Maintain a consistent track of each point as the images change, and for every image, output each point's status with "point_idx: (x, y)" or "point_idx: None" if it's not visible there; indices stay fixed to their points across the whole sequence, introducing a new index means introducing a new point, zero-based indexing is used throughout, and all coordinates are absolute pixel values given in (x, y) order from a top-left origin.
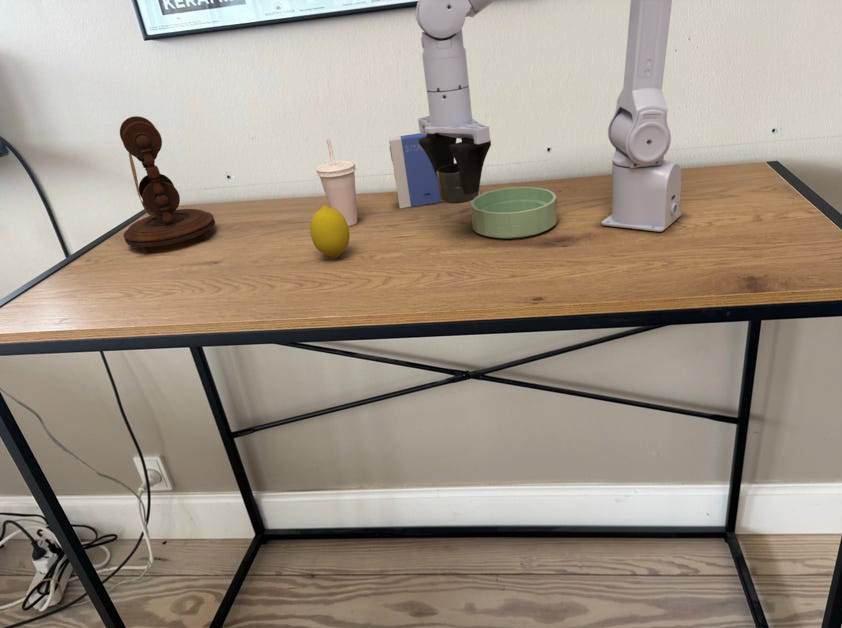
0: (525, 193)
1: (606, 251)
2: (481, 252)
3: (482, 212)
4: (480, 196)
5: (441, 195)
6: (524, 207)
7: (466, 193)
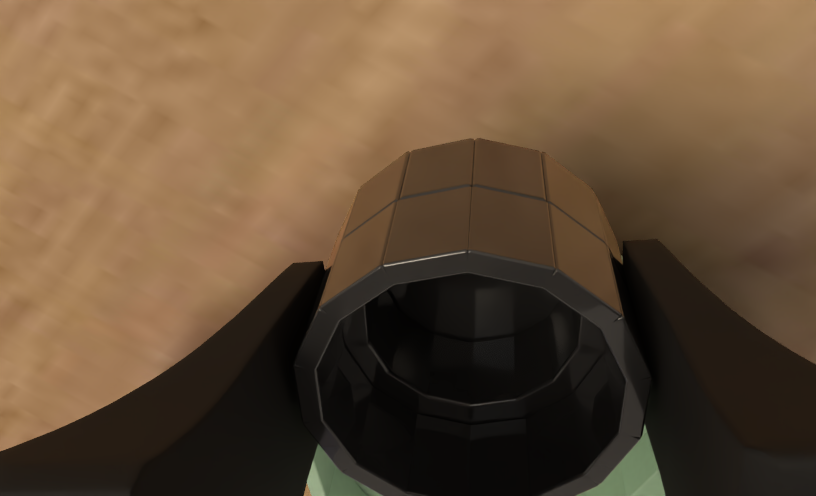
0: None
1: (56, 424)
2: (313, 125)
3: None
4: None
5: (478, 152)
6: (594, 490)
7: (291, 265)
